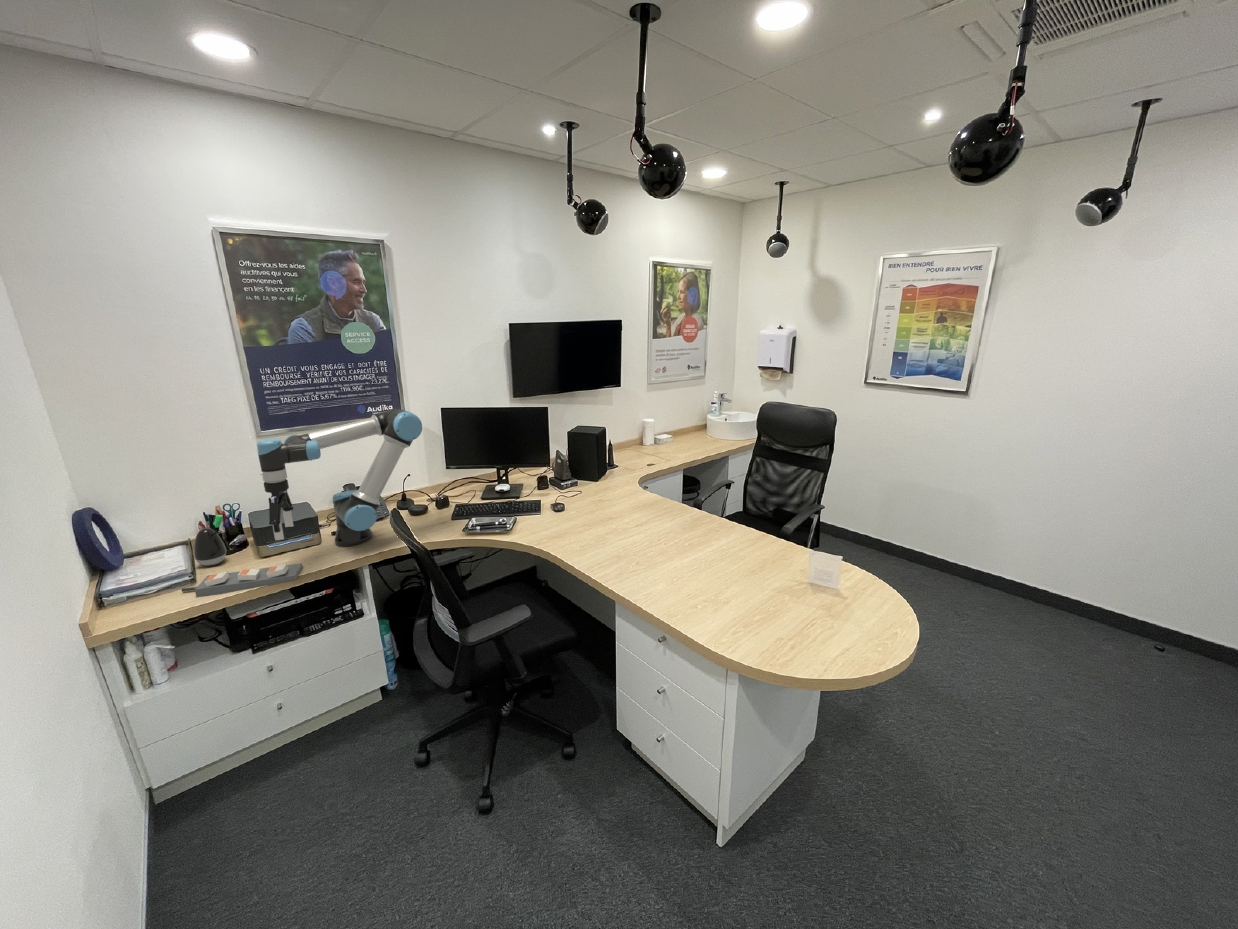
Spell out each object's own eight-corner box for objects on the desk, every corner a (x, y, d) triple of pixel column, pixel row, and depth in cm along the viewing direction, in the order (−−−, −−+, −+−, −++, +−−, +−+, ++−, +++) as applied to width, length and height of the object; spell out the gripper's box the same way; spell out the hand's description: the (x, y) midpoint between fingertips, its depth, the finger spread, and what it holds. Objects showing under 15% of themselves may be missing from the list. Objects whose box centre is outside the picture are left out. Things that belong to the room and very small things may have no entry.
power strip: (303, 570, 196) (302, 562, 195) (296, 582, 186) (294, 574, 185) (189, 585, 183) (187, 577, 183) (175, 600, 173) (173, 591, 173)
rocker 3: (288, 568, 189) (286, 563, 188) (285, 573, 184) (283, 568, 184) (272, 572, 187) (270, 567, 186) (268, 578, 183) (266, 573, 182)
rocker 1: (229, 575, 182) (227, 570, 182) (224, 581, 178) (222, 576, 177) (212, 580, 181) (209, 575, 180) (206, 586, 177) (204, 581, 176)
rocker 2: (260, 574, 186) (260, 569, 185) (255, 580, 181) (255, 574, 181) (242, 574, 184) (242, 568, 183) (237, 580, 179) (237, 574, 179)
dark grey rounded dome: (211, 569, 196) (203, 534, 192) (190, 567, 197) (181, 532, 193) (235, 558, 205) (227, 524, 201) (214, 556, 207) (206, 523, 203)
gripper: (273, 472, 194) (282, 522, 200) (252, 490, 172) (262, 546, 177) (295, 471, 197) (303, 520, 202) (277, 488, 174) (287, 544, 179)
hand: (284, 532), depth 190 cm, fingers open, 13 cm apart
